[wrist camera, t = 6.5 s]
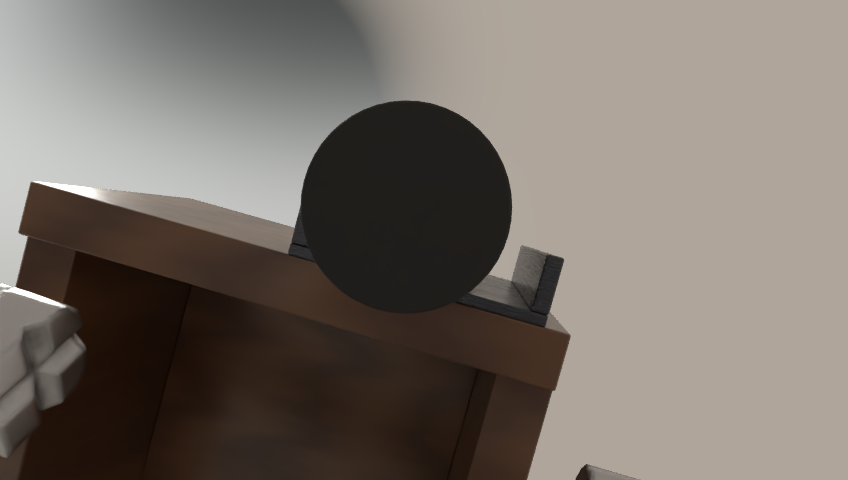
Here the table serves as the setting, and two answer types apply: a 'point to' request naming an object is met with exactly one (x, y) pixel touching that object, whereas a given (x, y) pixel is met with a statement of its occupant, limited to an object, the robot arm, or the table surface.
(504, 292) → the tray
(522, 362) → the shelf
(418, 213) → the roll
